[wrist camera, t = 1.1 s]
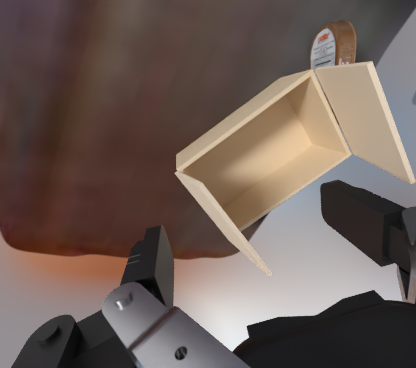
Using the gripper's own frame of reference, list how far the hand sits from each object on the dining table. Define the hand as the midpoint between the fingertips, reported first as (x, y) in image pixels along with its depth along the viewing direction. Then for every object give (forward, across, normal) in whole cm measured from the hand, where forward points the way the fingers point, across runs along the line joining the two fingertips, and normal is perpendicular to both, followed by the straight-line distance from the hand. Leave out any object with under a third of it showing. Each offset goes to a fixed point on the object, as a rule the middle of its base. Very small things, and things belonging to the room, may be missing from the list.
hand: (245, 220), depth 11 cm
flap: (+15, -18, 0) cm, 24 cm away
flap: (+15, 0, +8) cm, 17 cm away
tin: (+32, -22, -5) cm, 39 cm away
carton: (+31, -9, +4) cm, 32 cm away
